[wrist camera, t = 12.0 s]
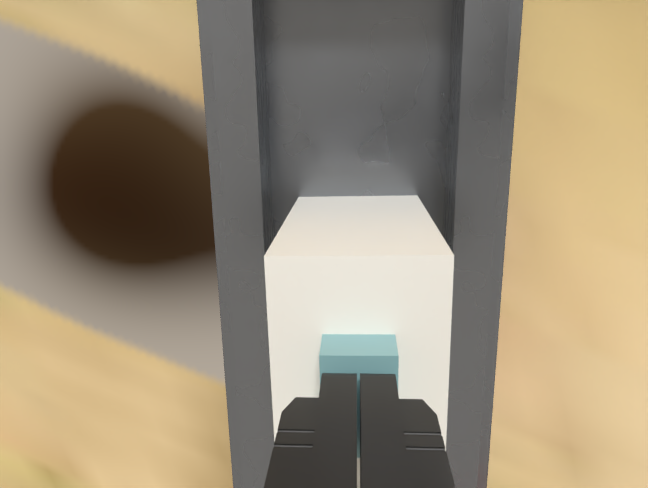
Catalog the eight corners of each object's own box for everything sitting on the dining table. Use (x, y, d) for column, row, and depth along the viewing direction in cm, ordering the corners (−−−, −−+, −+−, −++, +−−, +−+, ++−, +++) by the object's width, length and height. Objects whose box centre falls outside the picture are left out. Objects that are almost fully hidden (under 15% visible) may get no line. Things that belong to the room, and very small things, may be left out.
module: (298, 196, 18) (255, 271, 10) (417, 195, 18) (463, 270, 10) (304, 357, 20) (271, 524, 12) (413, 357, 19) (451, 529, 12)
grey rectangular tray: (201, -55, 17) (169, -86, 14) (518, -67, 16) (553, -101, 14) (241, 513, 23) (225, 573, 20) (477, 520, 22) (495, 583, 19)
